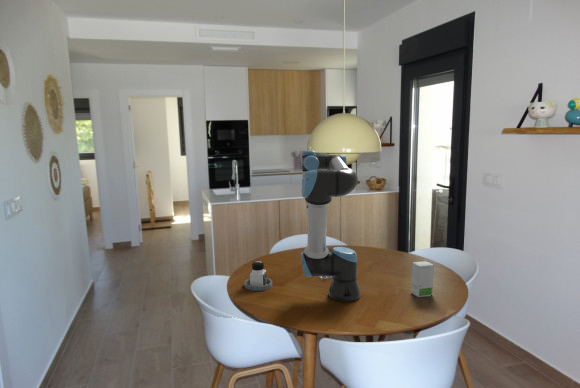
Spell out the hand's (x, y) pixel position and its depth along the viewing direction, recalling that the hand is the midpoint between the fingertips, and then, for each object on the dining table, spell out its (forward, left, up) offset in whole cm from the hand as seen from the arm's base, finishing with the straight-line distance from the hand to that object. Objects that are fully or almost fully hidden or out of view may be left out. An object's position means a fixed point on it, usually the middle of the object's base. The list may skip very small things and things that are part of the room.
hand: (309, 216), depth 225 cm
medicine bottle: (+6, +34, -31) cm, 47 cm away
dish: (+6, +34, -32) cm, 47 cm away
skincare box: (-62, -11, -32) cm, 71 cm away
